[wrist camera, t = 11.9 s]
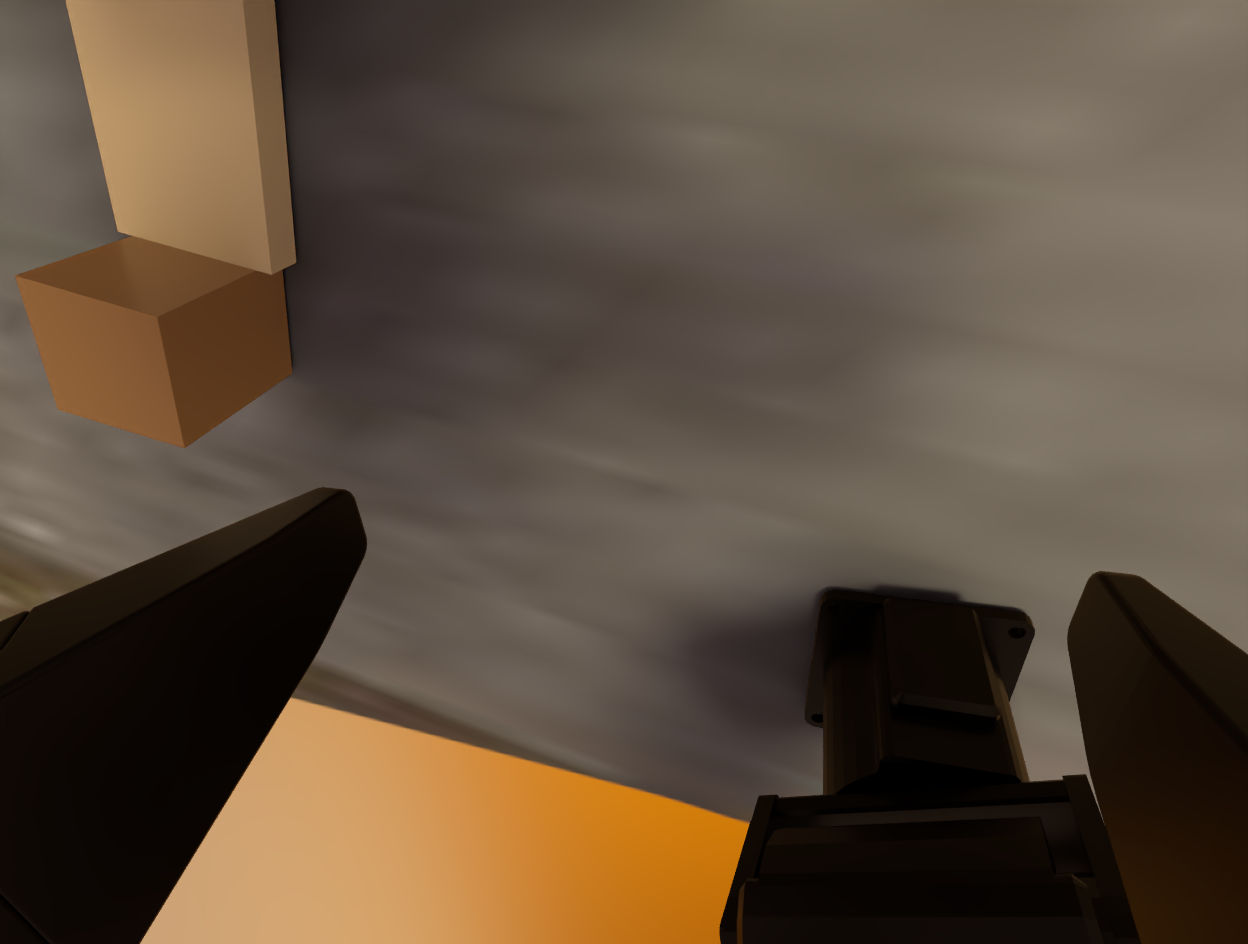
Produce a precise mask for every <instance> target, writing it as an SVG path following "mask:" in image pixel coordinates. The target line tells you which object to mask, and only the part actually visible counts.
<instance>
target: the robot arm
mask: <svg viewBox="0 0 1248 944" xmlns="http://www.w3.org/2000/svg"><path fill="white" fill-rule="evenodd" d="M366 549H367V537H366V534H365V530H364V527H363V523H362V520H361V517H360V513H359V510H358V507H357V503H356V500H355V498H354V496H353V495H352V494H351V492H349V491H347V490H344V489H335V488H325V487H322V488H317V489H314V490H312V491H310V492H307V493H305V494H303V495H300V496H298V497H295V498H293V499H291V500H288V501H286V502H284V503H281V504H279V505H276V506H274V507H272V508H269V509H267V510H264V511H262V512H260V513H257V514H255V515H253V516H250V517H248V518H245V519H243V520H241V521H238V522H236V523H234V524H231V525H229V526H226V527H224V528H222V529H219V530H217V531H214V532H212V533H210V534H207V535H205V536H203V537H200V538H198V539H195V540H193V541H191V542H188V543H186V544H184V545H181V546H179V547H176V548H174V549H172V550H169V551H167V552H164V553H162V554H160V555H157V556H155V557H153V558H150V559H148V560H145V561H143V562H141V563H138V564H136V565H134V566H131V567H129V568H126V569H124V570H122V571H119V572H117V573H114V574H112V575H110V576H107V577H105V578H103V579H100V580H98V581H95V582H93V583H91V584H88V585H86V586H84V587H81V588H79V589H76V590H74V591H72V592H69V593H67V594H64V595H62V596H60V597H57V598H55V599H53V600H50V601H48V602H45V603H43V604H41V605H38V606H36V607H34V608H33V609H32V610H31V611H30V612H29V611H24V612H21V613H19V614H16V615H14V616H12V617H9V618H7V619H5V620H2V621H0V944H140V943H141V941H142V939H143V938H144V936H145V934H146V933H147V931H148V929H149V928H150V926H151V925H152V923H153V921H154V920H155V918H156V916H157V915H158V913H159V912H160V910H161V908H162V907H163V905H164V903H165V902H166V900H167V898H168V897H169V895H170V893H171V892H172V890H173V889H174V887H175V885H176V884H177V882H178V880H179V879H180V877H181V876H182V874H183V872H184V870H185V869H186V867H187V866H188V864H189V863H190V861H191V859H192V858H193V856H194V854H195V853H196V851H197V849H198V848H199V846H200V844H201V843H202V841H203V840H204V838H205V836H206V835H207V833H208V831H209V830H210V828H211V827H212V825H213V823H214V822H215V820H216V818H217V817H218V815H219V814H220V812H221V810H222V808H223V807H224V805H225V804H226V802H227V800H228V799H229V797H230V796H231V794H232V792H233V791H234V789H235V787H236V786H237V784H238V782H239V781H240V779H241V777H242V776H243V774H244V773H245V771H246V769H247V768H248V766H249V765H250V763H251V761H252V759H253V758H254V756H255V755H256V753H257V751H258V750H259V748H260V746H261V745H262V743H263V742H264V740H265V738H266V737H267V735H268V733H269V732H270V730H271V729H272V727H273V725H274V724H275V722H276V720H277V719H278V717H279V715H280V714H281V712H282V711H283V709H284V707H285V706H286V704H287V702H288V701H289V699H290V698H291V696H292V694H293V693H294V691H295V689H296V688H297V686H298V684H299V683H300V681H301V680H302V678H303V676H304V675H305V673H306V671H307V670H308V668H309V666H310V665H311V663H312V661H313V660H314V658H315V656H316V654H317V653H318V651H319V649H320V647H321V645H322V643H323V641H324V639H325V638H326V636H327V634H328V632H329V630H330V628H331V625H332V623H333V621H334V619H335V617H336V615H337V613H338V611H339V609H340V607H341V605H342V602H343V600H344V598H345V596H346V594H347V592H348V590H349V588H350V586H351V584H352V582H353V579H354V577H355V575H356V573H357V571H358V569H359V567H360V565H361V563H362V561H363V559H364V556H365V553H366ZM832 604H839V605H841V606H840V607H833V606H831V605H832ZM1013 627H1021V628H1019V629H1011V628H1013ZM1034 635H1035V629H1034V626H1033V623H1032V621H1031V619H1030V617H1029V616H1027V615H1026V614H1024V613H1020V612H1013V611H1005V610H997V609H989V608H980V607H972V606H964V605H956V604H947V603H939V602H931V601H923V600H914V599H906V598H898V597H889V596H881V595H873V594H865V593H856V592H848V591H840V590H831V591H828V592H826V593H824V594H823V595H822V597H821V599H820V606H819V613H818V620H817V626H816V633H815V640H814V647H813V654H812V661H811V668H810V675H809V682H808V689H807V696H806V703H805V720H806V721H807V723H809V724H810V725H812V726H816V727H821V728H823V795H813V796H797V797H781V798H779V796H778V795H762V796H759V797H758V800H757V803H756V807H755V810H754V813H753V817H752V820H751V822H750V825H749V828H748V831H747V835H746V838H745V841H744V845H743V848H742V852H741V855H740V858H739V862H738V866H737V869H736V872H735V876H734V879H733V883H732V886H731V889H730V893H729V896H728V899H727V902H726V906H725V910H724V913H723V917H722V919H721V923H720V941H721V944H1248V654H1247V653H1245V652H1244V651H1243V650H1241V649H1240V648H1238V647H1237V646H1236V645H1234V644H1233V643H1232V642H1230V641H1229V640H1227V639H1226V638H1225V637H1223V636H1222V635H1221V634H1219V633H1218V632H1216V631H1215V630H1214V629H1212V628H1211V627H1210V626H1208V625H1207V624H1205V623H1204V622H1203V621H1201V620H1200V619H1198V618H1197V617H1196V616H1194V615H1193V614H1192V613H1190V612H1189V611H1187V610H1186V609H1185V608H1183V607H1182V606H1181V605H1179V604H1178V603H1176V602H1175V601H1174V600H1172V599H1171V598H1170V597H1168V596H1167V595H1165V594H1164V593H1163V592H1161V591H1160V590H1159V589H1157V588H1156V587H1154V586H1153V585H1152V584H1150V583H1149V582H1148V581H1146V580H1145V579H1143V578H1141V577H1140V576H1137V575H1133V574H1124V573H1115V572H1105V571H1099V572H1096V573H1094V574H1092V576H1091V577H1090V578H1089V579H1088V581H1087V583H1086V586H1085V588H1084V591H1083V593H1082V595H1081V598H1080V600H1079V603H1078V605H1077V608H1076V610H1075V612H1074V615H1073V617H1072V620H1071V622H1070V625H1069V629H1068V637H1067V643H1068V651H1069V657H1070V663H1071V669H1072V674H1073V680H1074V686H1075V692H1076V698H1077V704H1078V709H1079V715H1080V721H1081V727H1082V733H1083V739H1084V745H1085V750H1086V756H1087V761H1088V766H1089V771H1090V775H1091V779H1092V783H1093V786H1094V790H1095V794H1096V797H1097V801H1098V804H1099V807H1100V810H1101V814H1102V817H1103V819H1102V817H1101V814H1100V811H1099V808H1098V806H1097V803H1096V800H1095V798H1094V795H1093V792H1092V790H1091V787H1090V784H1089V781H1088V779H1087V776H1086V774H1083V775H1067V776H1062V777H1063V780H1048V781H1033V782H1030V780H1029V776H1028V773H1027V769H1026V765H1025V761H1024V757H1023V754H1022V750H1021V746H1020V742H1019V738H1018V734H1017V731H1016V727H1015V723H1014V719H1013V715H1012V712H1011V708H1010V704H1009V701H1010V699H1011V696H1012V693H1013V691H1014V688H1015V685H1016V683H1017V680H1018V677H1019V675H1020V672H1021V669H1022V667H1023V664H1024V661H1025V659H1026V656H1027V654H1028V651H1029V648H1030V646H1031V643H1032V640H1033V638H1034ZM1103 820H1104V822H1103ZM1104 824H1105V825H1104Z"/></svg>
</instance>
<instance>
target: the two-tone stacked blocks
mask: <svg viewBox="0 0 1248 944" xmlns="http://www.w3.org/2000/svg"><path fill="white" fill-rule="evenodd" d="M66 5H67V9H68V13H69V18H70V22H71V27H72V31H73V35H74V40H75V44H76V49H77V53H78V58H79V62H80V66H81V71H82V75H83V80H84V84H85V88H86V93H87V97H88V102H89V106H90V111H91V115H92V119H93V124H94V128H95V133H96V137H97V142H98V146H99V150H100V155H101V159H102V164H103V168H104V172H105V177H106V181H107V186H108V190H109V195H110V199H111V203H112V208H113V212H114V217H115V221H116V225H117V230H118V232H121V233H125V234H128V235H132V236H131V237H128V238H125V239H122V240H119V241H116V242H113V243H110V244H107V245H104V246H101V247H99V248H96V249H93V250H90V251H87V252H84V253H81V254H78V255H75V256H72V257H69V258H66V259H63V260H60V261H57V262H54V263H51V264H48V265H45V266H42V267H39V268H36V269H33V270H30V271H27V272H24V273H21V274H18V275H16V276H15V277H16V280H17V284H18V287H19V290H20V293H21V296H22V299H23V302H24V305H25V308H26V311H27V315H28V318H29V321H30V324H31V327H32V330H33V333H34V336H35V339H36V343H37V346H38V349H39V352H40V355H41V358H42V361H43V364H44V367H45V371H46V374H47V377H48V380H49V383H50V386H51V389H52V392H53V395H54V399H55V402H56V405H57V408H58V410H62V411H65V412H68V413H71V414H75V415H78V416H81V417H84V418H88V419H91V420H94V421H97V422H101V423H104V424H107V425H110V426H114V427H117V428H120V429H124V430H127V431H130V432H133V433H137V434H140V435H143V436H146V437H150V438H153V439H156V440H159V441H163V442H166V443H169V444H172V445H176V446H179V447H182V448H186V447H187V446H188V445H190V444H191V443H193V442H194V441H196V440H197V439H198V438H200V437H201V436H203V435H204V434H206V433H207V432H209V431H210V430H211V429H213V428H214V427H216V426H217V425H219V424H220V423H221V422H223V421H224V420H226V419H227V418H229V417H230V416H232V415H233V414H234V413H236V412H237V411H239V410H240V409H242V408H243V407H244V406H246V405H247V404H249V403H250V402H252V401H253V400H255V399H256V398H257V397H259V396H260V395H262V394H263V393H265V392H266V391H267V390H269V389H270V388H272V387H273V386H275V385H276V384H277V383H279V382H280V381H282V380H283V379H285V378H286V377H288V376H289V375H290V374H292V364H291V354H290V343H289V333H288V323H287V312H286V302H285V291H284V281H283V270H282V269H284V268H287V267H289V266H291V265H293V264H295V263H296V252H295V240H294V228H293V216H292V204H291V192H290V180H289V168H288V156H287V144H286V132H285V120H284V109H283V97H282V85H281V73H280V61H279V49H278V37H277V25H276V13H275V1H274V0H66Z"/></svg>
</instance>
